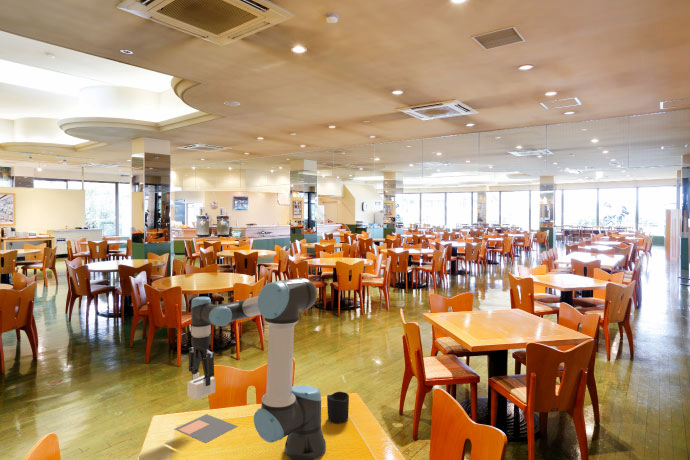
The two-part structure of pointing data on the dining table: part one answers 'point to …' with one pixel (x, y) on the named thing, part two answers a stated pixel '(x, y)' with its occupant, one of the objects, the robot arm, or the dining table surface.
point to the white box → (199, 388)
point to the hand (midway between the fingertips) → (201, 391)
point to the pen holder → (338, 407)
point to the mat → (206, 428)
